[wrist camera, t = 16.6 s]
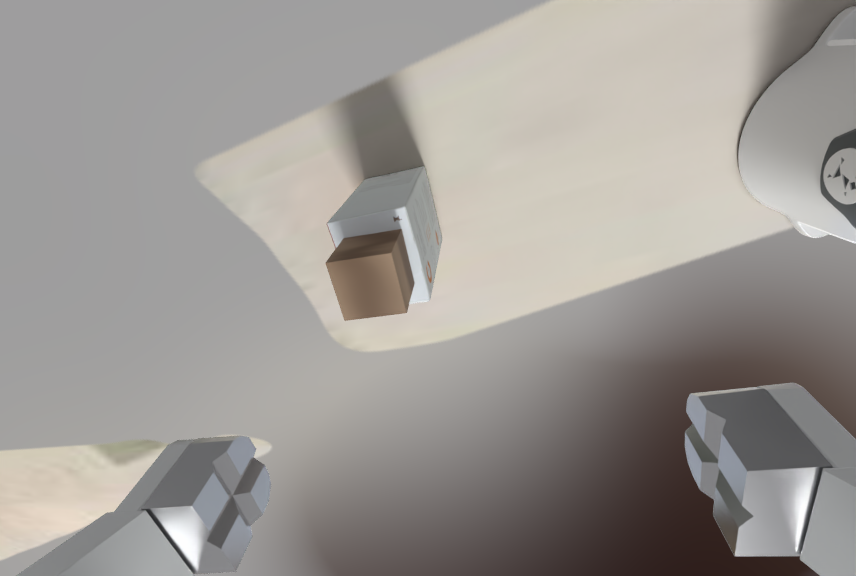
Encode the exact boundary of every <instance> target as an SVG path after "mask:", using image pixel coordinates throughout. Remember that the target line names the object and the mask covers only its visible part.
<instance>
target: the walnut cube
mask: <svg viewBox="0 0 856 576" xmlns="http://www.w3.org/2000/svg"><path fill="white" fill-rule="evenodd" d="M326 266H327V269H328V272H329V275H330V278H331V281H332V284H333V287H334V290H335V293H336V296H337V299H338V302H339V305H340V308H341V311H342V314H343V317H344V320H345V321H346V320H354V319H362V318H370V317H378V316H386V315H394V314H402V313H407V310H408V306H409V302H410V299H411V295H412V291H413V288H414V284H415V282H414V278H413V274H412V270H411V266H410V262H409V257H408V253H407V249H406V245H405V241H404V236H403V232H402V229H398V230H391V231H385V232H379V233H373V234H367V235H360V236H354V237H348V238H343V240H342V241H341V243H340V244H339V245H338V247H337V248H336V249H335V251H334V252H333V253H332V255H331V256H330V258H329V259H328V260H327V262H326Z"/></svg>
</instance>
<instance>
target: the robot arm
mask: <svg viewBox="0 0 856 576" xmlns="http://www.w3.org/2000/svg"><path fill="white" fill-rule="evenodd" d="M738 163H739V170H740V174H741V178H742V180H743V183H744V184H745V186H746V188H747V190H748V191H749V192H750V194H751V195H752V196H753V197H754V198H755V199H756V200H757V201H759V202H760V203H761V204H763V205H765V206H766V207H768V208H770V209H773V210H775V211H777V212H780V213H782V214H784V215H785V216H787V217H788V219H789V220H790V222H791V223H792V224H793V226H794V227H795V228H796V230H798V232H800V233H801V234H803V235H806V236H808V237H811V238H818V237H822V236H826V235H829V234H831V235H834V236H836V237H839V238H842V239H844V240H847V241H850V242H853V243H856V6H853V7H849V8H847V9H845V10H843V11H842V12H841V13H839V14H838V15H837V16H836V17H835V18H834V20H833V21H832V22H831V23H830V24H829V26H828V27H827V28H826V30H825V31H824V32H823V34H822V35H821V37H820V38H819V39H818V41H817V42H816V44H815V45H814V47H813V48H812V49H811V50H810V51H809V52H808V53H807V54H805V55H804V56H803V57H802V58H801V59H799V60H798V61H797V62H796V63H794V64H793V65H792V66H790V67H789V68H788V69H787V70H786V71H784V72H783V73H782V74H781V75H780V76H779V77H778V78H777V79H776V80H775V81H774V82H773V83H772V84H771V85H770V86H769V87H768V88H767V90H766V91H765V92H764V93H763V95H762V96H761V97H760V99H759V100H758V101H757V103H756V105H755V106H754V108H753V109H752V111H751V113H750V115H749V117H748V119H747V121H746V124H745V126H744V129H743V132H742V135H741V139H740V144H739V152H738ZM686 412H687V414H688V415H689V417H690V419H691V421H692V422H693V424H692V425H691V427H689V428H688V429H687V431H685V449H686V454H687V460H688V464H689V466H690V469H691V472H692V474H693V477H694V479H695V481H696V483H697V485H698V487H699V489H700V490H701V491H702V492H704V493H705V494H707V495H708V496H710V497H711V498H712V499H714V509H713V516H714V518H715V520H716V522H717V524H718V526H719V527H720V529H721V531H722V533H723V535H724V537H725V539H726V541H727V543H728V544H729V546H730V548H731V550H732V552H733V554H734V556H800V560H801V561H803V562H804V563H805V564H806V565H808V566H809V567H810V568H811V569H813V570H814V571H815V572H816V573H818V574H819V575H820V576H856V439H855V438H854V437H853V436H852V435H851V434H849V432H848V431H847V430H846V429H845V428H844V427H843V426H842V425H841V424H840V423H838V421H836V420H835V419H834V418H833V417H832V416H831V415H830V414H829V413H828V412H827V411H826V410H825V409H824V408H823V407H822V406H821V405H820V404H819V403H818V402H817V401H816V400H815V399H814V398H813V397H812V396H811V395H810V394H809V393H808V392H807V391H806V390H805V389H804V388H803V387H802V386H800V385H798V384H795V383H787V384H777V385H768V386H758V387H757V388H755V387H751V388H741V389H732V390H722V391H712V392H702V393H693V394H690V395H689V397H688V400H687V409H686ZM255 451H256V448H255V446H254V445H253V443H252V441H251V440H250V438H249V437H245V436H229V437H214V438H199V439H194V440H193V439H192V440H177V441H175V442H173V443H171V444H169V445H168V446H167V447H166V448H165V449H164V451H163V452H162V453H161V454H160V456H159V457H158V458H157V459H156V460H155V462H154V463H153V464H152V465H151V467H150V468H149V469H148V470H147V472H146V473H145V474H144V475H143V477H142V478H141V479H140V480H139V482H138V483H137V484H136V485H135V487H134V488H133V489H132V490H131V491H130V493H129V494H128V495H127V496H126V498H125V499H124V500H123V501H122V503H121V504H120V505H119V506H118V508H117V509H116V510H115V511H114V512H110V513H106V514H104V515H103V516H101V517H100V518H98V519H97V520H96V521H94V522H93V523H91V524H90V525H88V526H87V527H85V528H84V529H83V530H81V531H80V532H78V533H77V534H76V535H74V536H73V537H71V538H70V539H68V540H67V541H65V542H64V543H62V544H61V545H60V546H58V547H57V548H55V549H54V550H52V551H51V552H50V553H48V554H47V555H45V556H44V557H42V558H41V559H39V560H38V561H37V562H35V563H34V564H32V565H31V566H29V567H28V568H26V569H25V570H24V571H22V572H21V573H19V574H18V575H17V576H194V574H205V573H221V572H235V571H236V570H237V568H238V566H239V564H240V562H241V560H242V558H243V555H244V553H245V551H246V549H247V547H248V545H249V543H250V541H251V539H252V531H251V525H252V524H253V523H254V522H255V521H256V520H257V519H258V518H259V517H261V516H262V515H263V513H264V510H265V508H266V506H267V504H268V501H269V496H270V489H271V482H270V477H269V473H268V471H267V469H266V467H265V465H264V464H262V463H261V462H259V461H258V460H256V459H255V458H253V457H254V454H255Z"/></svg>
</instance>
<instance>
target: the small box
mask: <svg viewBox="0 0 856 576" xmlns="http://www.w3.org/2000/svg"><path fill="white" fill-rule="evenodd" d="M327 226H328V229H329V232H330V235H331V237H332V240H333V243H334V246H335V249H336V248H337V247H338V245H339V244H340V243H341V241H342V240H343V238H348V237H354V236H360V235H367V234H373V233H379V232H385V231H391V230H398V229H402V232H403V236H404V241H405V245H406V249H407V253H408V257H409V262H410V266H411V270H412V274H413V278H414V282H415V284H414V288H413V291H412V295H411V299H410V302H409V304H414V303H421V302H428V301H430V298H431V293H432V288H433V283H434V278H435V273H436V268H437V263H438V258H439V253H440V248H441V243H442V236H441V232H440V227H439V223H438V219H437V214H436V210H435V206H434V202H433V198H432V194H431V190H430V186H429V181H428V177H427V174H426V170H425V167H424V166H423V167H418V168H414V169H410V170H405V171H401V172H396V173H392V174H387V175H382V176H377V177H373V178H368V179H365V180H364V181H363V182H362V183H361V184H360V186H359V187H358V188H357V189H356V190H355V191H354V192H353V193H352V195H351V196H350V197H349V198H348V199H347V200H346V202H345V203H344V204H343V205H342V206H341V207H340V209H339V210H338V211H337V212H336V213H335V214H334V215H333V217H332V218H331V219H330V220H329V221H328V222H327Z"/></svg>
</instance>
